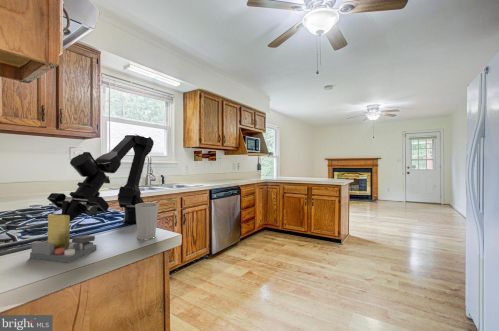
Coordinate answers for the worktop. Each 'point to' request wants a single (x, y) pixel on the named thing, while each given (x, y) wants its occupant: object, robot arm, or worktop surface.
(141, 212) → the cup
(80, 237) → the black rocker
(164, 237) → the worktop surface
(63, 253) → the console
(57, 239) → the yellow flat block
